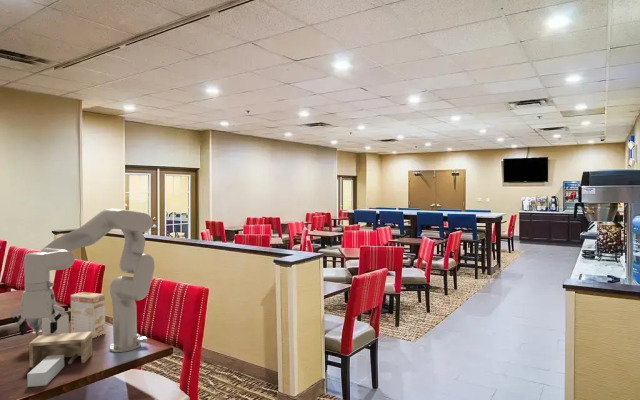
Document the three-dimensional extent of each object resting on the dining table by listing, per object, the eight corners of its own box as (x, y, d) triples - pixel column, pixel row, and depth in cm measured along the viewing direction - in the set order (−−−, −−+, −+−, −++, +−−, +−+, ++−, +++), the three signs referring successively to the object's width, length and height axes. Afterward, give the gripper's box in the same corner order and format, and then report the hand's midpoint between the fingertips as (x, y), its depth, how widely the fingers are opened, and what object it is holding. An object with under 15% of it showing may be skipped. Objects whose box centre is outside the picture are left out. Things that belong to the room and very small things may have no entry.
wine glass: (44, 346, 186) (43, 313, 186) (24, 348, 184) (23, 315, 183) (50, 340, 194) (49, 308, 193) (30, 342, 191) (29, 310, 191)
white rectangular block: (64, 367, 166) (64, 354, 165) (46, 385, 150) (45, 372, 150) (47, 368, 164) (47, 356, 164) (27, 387, 149) (27, 373, 149)
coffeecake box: (106, 333, 202) (105, 293, 202) (93, 338, 196) (92, 297, 195) (83, 329, 208) (82, 291, 207) (70, 334, 201) (69, 294, 201)
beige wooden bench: (92, 353, 178) (91, 331, 177) (84, 362, 169) (84, 339, 168) (40, 358, 174) (39, 335, 173) (29, 367, 165) (29, 343, 164)
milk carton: (56, 353, 178) (55, 310, 177) (42, 352, 179) (41, 309, 179) (69, 347, 185) (68, 305, 184) (55, 346, 186) (54, 304, 186)
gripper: (67, 283, 156) (68, 328, 157) (15, 285, 153) (17, 331, 153) (59, 287, 149) (60, 335, 149) (4, 290, 145) (6, 338, 146)
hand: (38, 333), depth 151 cm, fingers open, 9 cm apart
